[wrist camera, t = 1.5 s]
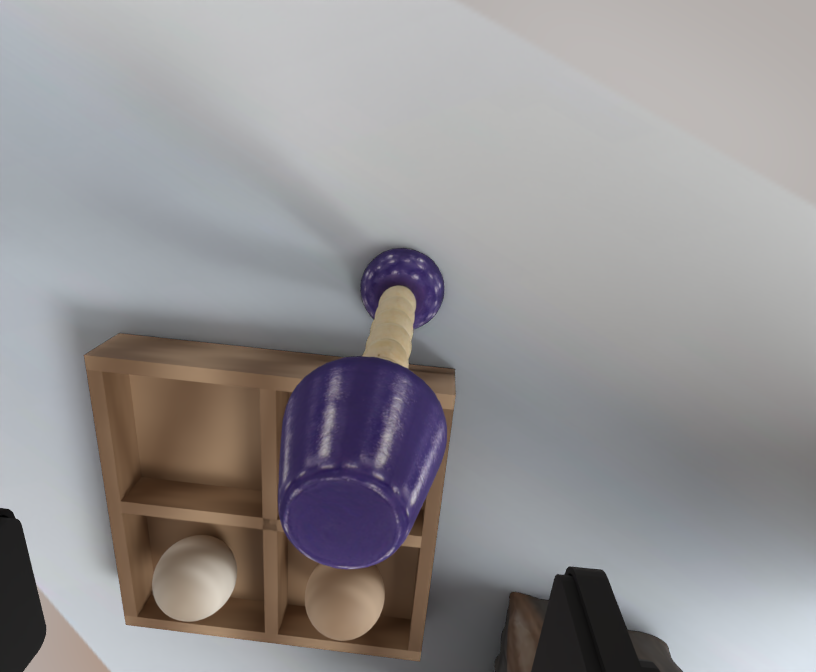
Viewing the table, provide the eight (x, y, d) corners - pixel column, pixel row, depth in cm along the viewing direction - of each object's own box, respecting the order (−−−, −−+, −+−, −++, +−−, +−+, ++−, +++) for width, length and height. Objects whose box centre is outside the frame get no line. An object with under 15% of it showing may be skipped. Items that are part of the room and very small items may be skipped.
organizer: (454, 369, 28) (455, 395, 25) (422, 619, 35) (419, 661, 32) (119, 333, 29) (84, 355, 26) (150, 585, 36) (125, 624, 33)
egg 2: (391, 539, 32) (382, 603, 27) (386, 596, 33) (377, 664, 29) (315, 530, 32) (295, 592, 28) (314, 587, 34) (294, 654, 29)
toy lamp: (460, 320, 27) (479, 572, 12) (378, 350, 28) (295, 621, 13) (425, 234, 26) (393, 393, 10) (340, 269, 27) (192, 463, 11)
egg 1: (247, 522, 32) (216, 583, 28) (249, 579, 34) (220, 645, 29) (173, 514, 32) (131, 573, 28) (178, 571, 34) (140, 635, 30)
